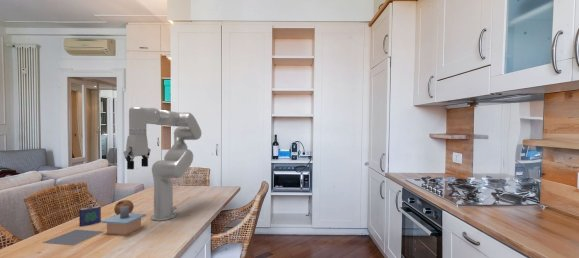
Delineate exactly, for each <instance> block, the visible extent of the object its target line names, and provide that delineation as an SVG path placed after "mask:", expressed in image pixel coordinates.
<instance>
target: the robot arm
mask: <svg viewBox="0 0 579 258" xmlns="http://www.w3.org/2000/svg"><path fill="white" fill-rule="evenodd" d="M147 125H158V126H168V127H169V126H170V127H176V128H175V129H174V131H173V145H172V146H171V147H170V149H169V150H168V151H167V152H166V153H165V154H164V157H163V159H162V160H160V159H159V160H157V161H155V162H154V163H153V164H152V166H151V172H152V178H153V214H152V215H151V216H150V220H152V221H161V222H162V221H167V220H171V219H174V218H176V216H177V215H176V212H174V211H175V210H177V206H176V205H173V202H174V200H173V199H174V198H173V197H174V196H173V195H174V194H173V193H174V192H173V189H174V187H173V182H172V179H179V178H182V177H183V176H184V175H185V174H186V172H187V171H188V169H189V167H190V166H191V165H192V163H193V160H194V153H193V152H192V150H190V149H188V145H187V143H186V141H197V140H199V139H201V138H202V129H201V127H200V125H199V123H198V121H197V119H196V117H195V116H194V114H193V113H191V112H178V111H177V112H176V111H171V110H165V109H158V108H156V107H142V106H141V107H139V106H132V107H130V108H129V109H128V135H127V138H126V145H125V146H126V147H125V150H124V151H123V156H124V159H125V161H126V169H127V170H135V161H134V159H135V158H136V157H141V167H148V166H149V158H150V157H149V156H150V155H151V154H150V153H151V148H149V143H148V137H147V136H148V135H147Z"/></svg>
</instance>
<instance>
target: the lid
mask: <svg viewBox="0 0 579 258" xmlns="http://www.w3.org/2000/svg"><path fill="white" fill-rule="evenodd" d="M146 216H147V214H146V213H133V212H131V213H129V206H123V207H120V214H118V215H117V214H115V215H114V216H111V217H109V218H106V219H103V220H101V223H102V224H107V223H111V224H129V223H131V222H133V221H135V220H138V219H140V218H141V219H142V218H144V217H146Z"/></svg>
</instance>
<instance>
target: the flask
mask: <svg viewBox="0 0 579 258" xmlns="http://www.w3.org/2000/svg"><path fill="white" fill-rule="evenodd" d="M101 207H102V206H100V205H97V206H93V204H89V206H87V207H82V208H80V209H79V215H78V216H79V217H78V218H79V219H78V220H79V223H78V225H79V228H80V227H87V226H91V225H97V224H101V223H102V208H101Z"/></svg>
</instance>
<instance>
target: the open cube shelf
mask: <svg viewBox="0 0 579 258" xmlns="http://www.w3.org/2000/svg"><path fill="white" fill-rule="evenodd" d="M141 229H142V218H140V219H138V220H135V221H133V222H131V223H129V224H111V223H106V235H118V236H119V235H121V236H125V237H128V236H130V235H131V234H133V233H135V232H137V231H140V230H141Z"/></svg>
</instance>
